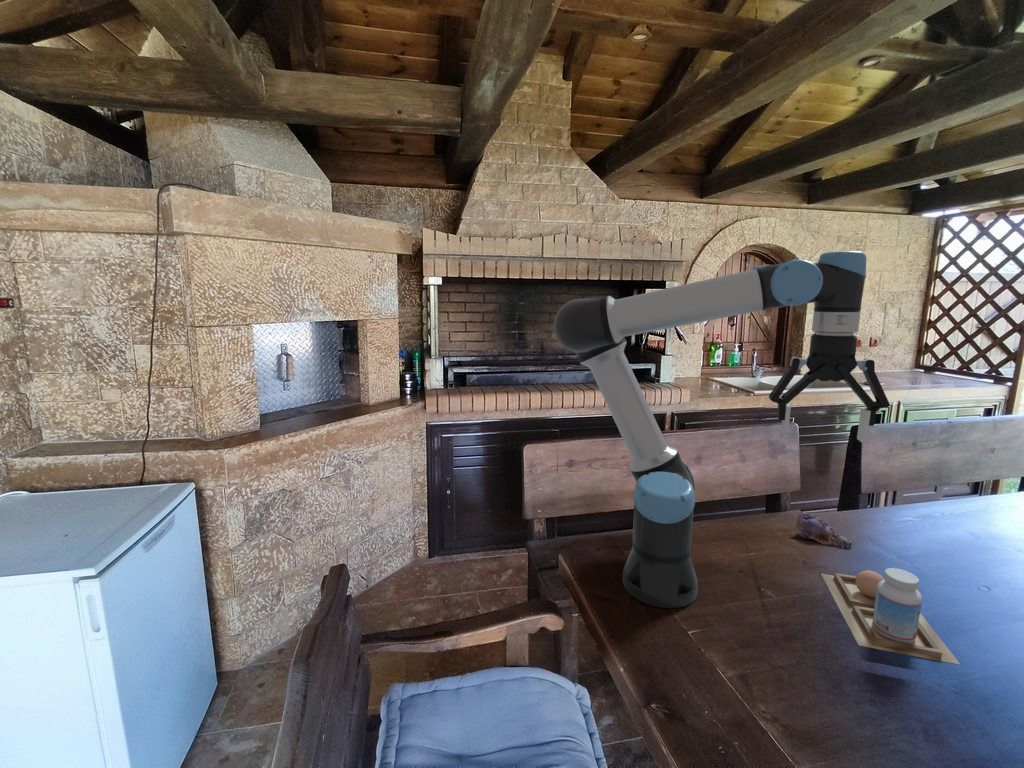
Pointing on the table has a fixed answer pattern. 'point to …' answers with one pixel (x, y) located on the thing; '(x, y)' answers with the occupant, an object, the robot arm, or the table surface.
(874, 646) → the tray
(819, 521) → the skull
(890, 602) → the pill bottle
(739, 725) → the table surface
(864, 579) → the egg
